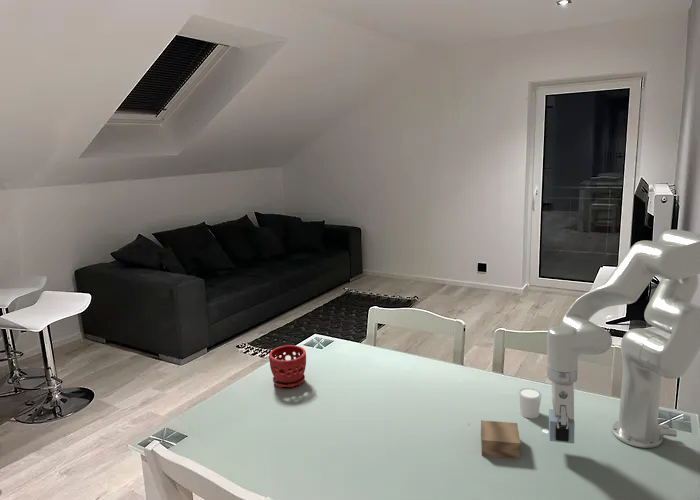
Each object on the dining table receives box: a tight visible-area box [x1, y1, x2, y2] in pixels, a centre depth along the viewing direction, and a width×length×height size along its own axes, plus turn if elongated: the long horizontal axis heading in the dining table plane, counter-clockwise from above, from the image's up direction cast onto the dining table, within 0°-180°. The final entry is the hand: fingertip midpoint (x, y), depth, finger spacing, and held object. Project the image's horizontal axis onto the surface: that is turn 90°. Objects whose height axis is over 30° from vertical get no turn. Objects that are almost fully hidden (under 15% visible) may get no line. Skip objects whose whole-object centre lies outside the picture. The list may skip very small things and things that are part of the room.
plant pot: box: [268, 344, 307, 388], centre depth 186 cm, size 13×13×12 cm
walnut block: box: [480, 419, 522, 460], centre depth 145 cm, size 10×10×5 cm
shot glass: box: [517, 387, 542, 419], centre depth 161 cm, size 7×7×7 cm
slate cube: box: [548, 408, 576, 445], centre depth 140 cm, size 6×6×6 cm
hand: (561, 432), depth 141 cm, fingers closed on slate cube, 6 cm apart
